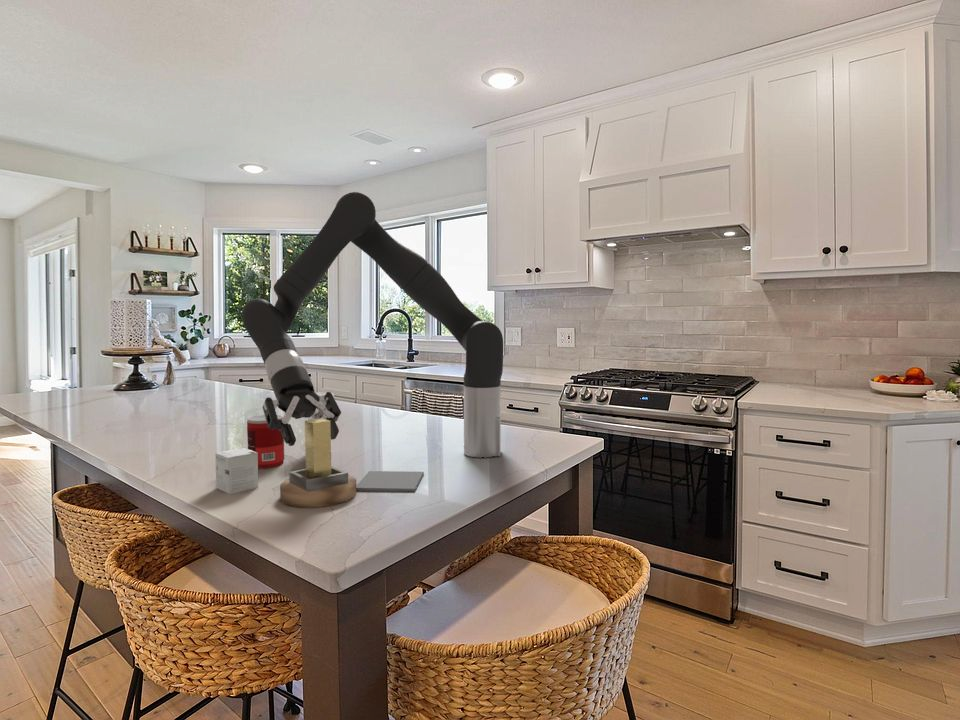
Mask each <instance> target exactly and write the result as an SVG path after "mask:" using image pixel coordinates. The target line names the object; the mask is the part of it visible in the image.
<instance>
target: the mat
mask: <svg viewBox="0 0 960 720" xmlns="http://www.w3.org/2000/svg"><path fill="white" fill-rule="evenodd" d="M423 474H424V475H425V472H424V471H403V470H402V471H396V470H395V471H392V470H389V471H388V470H387V471H386V470H383V471H382V470H369V471H368V472H366V474H365V475H364V476H363V478H362V479H361V480H360V481H359V482H358V483H356V492H401V491H415V492H416V490H417V488H418V487H419V484H420V483H421V481H420V480H422V479H423V477H422V476H424V475H423ZM421 478H422V479H421ZM419 482H420V483H419ZM416 487H417V488H416Z"/></svg>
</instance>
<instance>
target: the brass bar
mask: <svg viewBox="0 0 960 720" xmlns="http://www.w3.org/2000/svg"><path fill="white" fill-rule="evenodd" d="M304 444H305V445H304V447H305V449H304V451H305V469H306V478H308V479H314V478H319V477H324V476H328V475H331V466H332V451H331V429H330V421H329V420H326V419H322V418H321V419H313V420H308V419H307V420H304Z"/></svg>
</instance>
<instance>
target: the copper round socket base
mask: <svg viewBox="0 0 960 720" xmlns="http://www.w3.org/2000/svg"><path fill="white" fill-rule="evenodd" d="M288 473H289V475H288V476H289V478H288V479H286V480H284V481H283V482H281V483H280V484H279V485H280V486H279V491H280V492H279V497H280V502H281V503H282V504H283V505H286V506H289V507H293V508H302V509H303V508H304V509H307V508H308V509H313V507H317V508H324V507H323V506H326V507H330V506H331V505H332V506H335V504H336V505H339V504H338V503H340V504H342V503H341V502H343V503H345V502H344V501H346V502H348V501H350V500H352V499H354V497H356V495H357V492H358V491H356V485H357V478H356V477H355V476H354V475H351V474H349V472H348V471H345V470H343V469H341V468H338V467H336V466H333V465H331V475H328V476H324V477H319V478H314V479H308V478H306V468H303V469H299V470H293V471H289V472H288ZM351 498H352V499H351ZM349 499H350V500H349ZM347 500H348V501H347Z"/></svg>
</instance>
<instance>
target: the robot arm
mask: <svg viewBox="0 0 960 720" xmlns="http://www.w3.org/2000/svg"><path fill="white" fill-rule="evenodd" d="M376 215H377V214H376V207H375V204H374V201H372V199H371V198H370V197H369V196H368V195H366V194H365V193H362V192H360V191H359V192H358V191H353V192H351V191H350V192H349V193H346V194H344V195H342V196H341V197H340V198H339V200H338V201H337V202H336V204H335V207H334V209H333V210H332V212H331V214H330V215H329V217H328V218H327V221H326V222H325V223H324V224H323V226H322V227H321V229H320V231H319V232H318V233H317V235H316V236H315V237H314V238H313V240H312V241H311V242H310V243H309V244H308V246H307V247H306V248H305V249H304V250H303V251H302V252H301V253H300V255H298V256H297V258H296V259H295V260H294V261H293V262H292V263H291V264H290V266H289V267H288V268H286V269H285V271H284V272H283V274H282V275H281V276H279V278H278V279H277V281H276V282H275V283H274V285H273V291H274V293H275V295H276V296H277V299H276V302H275V304H274V305H273V304H272V303H271V302H269V301H268V300H266V299H263V298H254V299H251V300H249V301H248V302H247V303H245V305H244V307H243V309H242V312H241V321H242V323H243V326H244V329H245V330H246V332H247V334H248V335H249V336H250V338H251V340H252V341H253V342H254V344H255V345H256V347H257V348H258V350H259V352H260V353H259V354H260V356H261V359H262V362H263V364H264V366H265V371H266V375H267V380H268V381H269V383H270V386H271V389H272V391H273V393H274V397H275V398H276V399H273V398H272V397H269V396H268V397H266V398H265V399H264V402H263V406H262V410H263V414H264V415H265V418H266V421H267V425H268V428H269V429H270V430H273V429H279V430H280V431H281V433H282V436H283V438H284V444H287V445H288V446H289V447H293V446H294V445H295V443H296V441H297V438H296V435H295V433H294V431H293V427H292V425H291V424H290V423H289V422H290V420H291V418H294V419H295V420H298V419H302V418H305V419H308V417H313V418H314V419H321V418H322V419H326V420H329V421H330V429H331V440H332V441H333V440H336V438H337V437H338V434H339V431H340V429H339V426H338V424H337V423H336V422H337V421H338V420H339V418H340V416H341V414H342V411H341V409H340V407H339V405H338V403H337V401H336V399H335V396H334V397H333V395H332V394H331V393H332V392H331V391H326V392H327V393H326V395H321V396H318V395H317V394H316V391H315V387H314V385H313V382H312V380H311V378H310V375H309V373H308V370H307V368H306V366H305V363H304V362H303V359H302V357H301V356H300V355H299V353H298V351H297V348H296V345H295V343H294V342H293V339H292V338H291V337H290V336H289V335H288V332H289V330H290V328H291V326H292V325H293V322H294V321H295V319H296V317H297V314H298V312H299V310H300V307H301V306H302V303H303V302H304V301H305V300H306V298H308V296H309V295H310V294H311V292H312V291H313V290H314V289H315V288H316V287H317V286H318V284H319V283H320V282H321V280H322V279H323V277H324V276H325V274H327V272H328V270H329V269H330V267H331V266H332V264H333V263H334V261H335V260H336V258H337V257H338V256H339V255H340V254H341V252H342V251H343V250H344V249H345V248H346V246H347V245H349V244H350V243H352V244H354V246H356V247H357V248H359V250H361V251H362V252H364V253H365V254H366V255H367V256H368V257H369V258H371V259H372V260H373V261H374V262H375V264H377V265H378V266H379V268H380V269H381V270H382V271H383V272H384V273H385V274H386V275H387V276H388V277H389V278H390V279H391V281H393V283H395V284H396V285H397V286H398V287H399V288H400V289H401V290H402V291H403V292H404V293H405V294H406V295H407V296H408V297H409V298H410V299H411V300H412V301H414V302H415V303H416V304H417V305H418V306H419V307H420V308H422V309H423V310H424V311H425V312H426V313H428V314H429V315H430V316H432V317H433V318H434V319H436V320H437V321H438V322H439V323H441V324H442V325H443V327H444V328H446V330H448V332H449V333H450V334H451V335H452V336H453V337H454V338H455V340H456V341H457V342H458V343H459V345H460V346H462V348H463V349H464V351H465V371H464V374H463V454H464V455H465V456H467V457H473V458H482V457H484V458H493V456H494V457H501V450H502V449H501V447H502V446H501V441H502V439H501V434H502V432H501V431H502V430H501V425H502V424H501V385H502V384H501V380H502V376H503V369H504V337H503V334H502V331H501V329H500V328H499V327H498V326H497V325H496V324H495V323H493V322H490V321H484V320H483V319H481V318H480V317H479V316H477V315H476V314H475V313H474V312H472V311H471V309H469V308H468V307H467V306H466V305H465V304H464V303H463V302H462V301H461V300H460V298H458V295H456V293H455V291H454V289H452V287H451V286H450V284H449V283H448V282H447V280H446V279H445V278H444V277H443V275H442V274H441V273H440V272H439V271H438V270H437V269H436V268H435V267H434V266H433V265H432V264H431V263H430V262H429V261H428V260H427V259H426V258H424V257H423V256H421V255H420V254H419V253H417V252H416V251H415V250H413V249H411V248H410V247H408V246H406V245H404V244H403V243H401V242H399V241H397V240H396V239H395V238H393V237H392V236H391V234H390V233H388V232H387V231H386V230H385V228H384V227H383V226H382V225H381V224H380V223H379V222H378V221H377V220H376ZM330 392H331V393H330ZM319 402H321V403H322V404H323V405H322V404H321V403H319ZM277 408H278V409H279V410H280V411H282V412H283V413H284V416H283V419H282V420H279V419H278V418H277V415H278V414H277V411H276V409H277ZM316 408H317V409H318V410H319V412H318V413H317V412H315V410H316ZM324 415H325V416H326V417H325V416H324Z"/></svg>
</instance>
